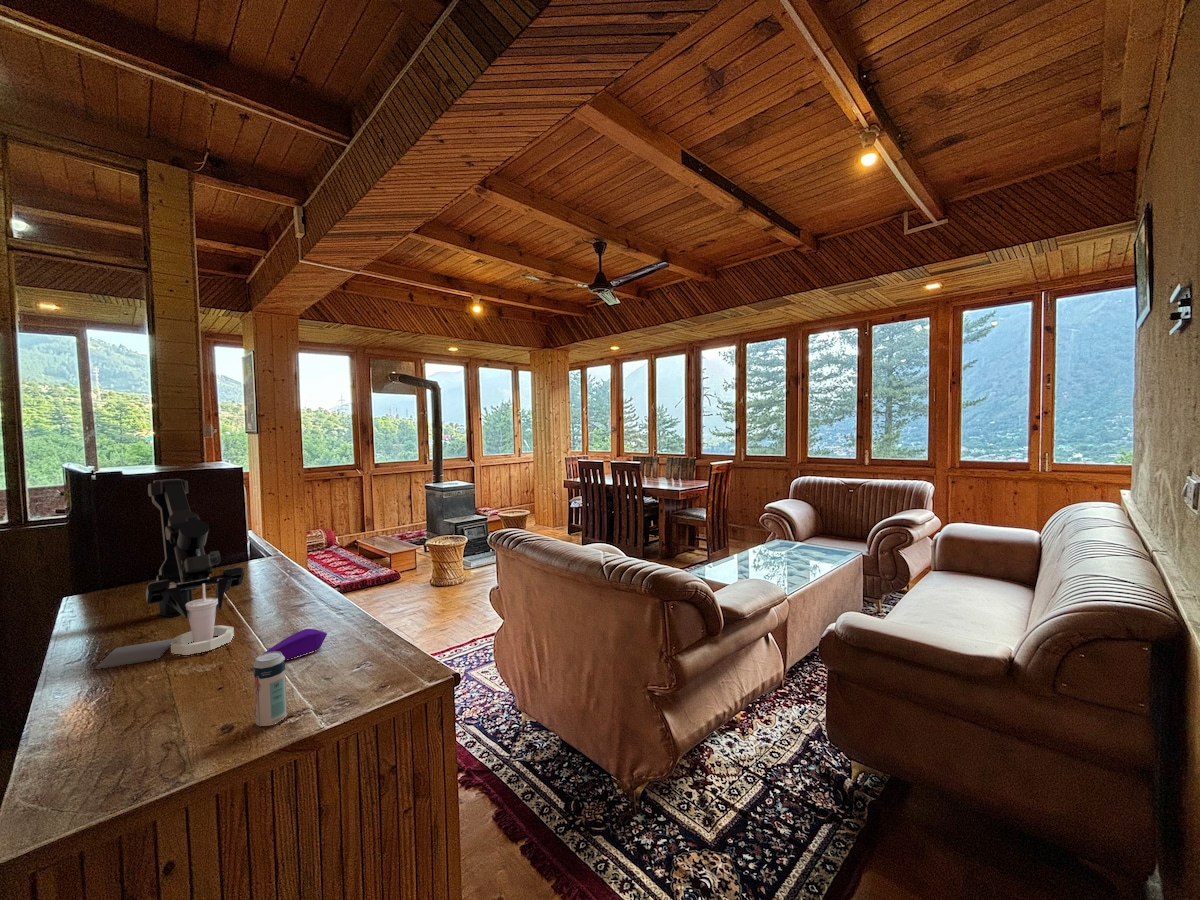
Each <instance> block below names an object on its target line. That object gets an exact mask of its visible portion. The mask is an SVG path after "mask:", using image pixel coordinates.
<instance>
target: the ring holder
mask: <svg viewBox="0 0 1200 900" xmlns="http://www.w3.org/2000/svg"><path fill="white" fill-rule="evenodd" d="M213 636H218V637H213V639H211V640H207V641H201V642H196V643H194V642H193V636H192V631H191V630H190V631H188V632H184V633H182V634H179V635H176V636H175V637H174V638H173V639H174V640H173V641H172V643H171V646H170V654H171V653H174V654H182V655H190V654H194V653H201V652H205V651H209V650H212V649H215V648H217V647H220V646H221V645H224V644H226V643H229V642H231V640H232V638H233V636H234V637H235V628H234V626H230V625H229V626H228V625H221V624H220V625H214V634H213ZM233 639H234V638H233ZM232 641H233V640H232ZM191 642H192V643H191ZM188 643H189V644H188ZM231 643H232V642H231ZM174 654H173V655H174Z"/></svg>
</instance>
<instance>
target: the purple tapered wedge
mask: <svg viewBox="0 0 1200 900" xmlns="http://www.w3.org/2000/svg"><path fill="white" fill-rule="evenodd" d="M327 635H328V633H327V632H326V631H322V630H318V629H314V628H305V629H302V630H300V631H298V632H295V633H294V634H292V635H289V636H288V637H286V638H284V639H282V640H280V642H278V643H276V644H275V645H273V646H272V647H270V648H269V649H267V650H266V651H265V652H263V653H262V654H265V653H268V652H274V651H277V652H281V653H282V655H283V656H284V657H285V660H287V659H291V658H294V657H297V656H300V655H303V654H306V653H309V652H312V651H315V650H317V649H318V650H319V649H320V648H321V646H322V645H323V643H324V641H325V639H326V637H327ZM318 650H317V651H318Z"/></svg>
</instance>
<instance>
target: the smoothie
mask: <svg viewBox="0 0 1200 900" xmlns="http://www.w3.org/2000/svg"><path fill="white" fill-rule="evenodd" d="M201 588H202V590H201V591H202V598H198V599H194V600H193V599H192V601H190V602H188V603H186V604H185V607H186V610H187V615H188V616H187V618H188V620H189V625H190V626H189V627H190V631H192V636H193V641H194V642H193V643H196V642H201V641H207V640H211V639H213V638H214V637H213V634H214V626H215V625H216V624H215V621H216V614H217V604H218V599H217V598H216V597H207V595H206V586H205V583H204V584H202V587H201Z"/></svg>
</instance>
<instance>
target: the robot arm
mask: <svg viewBox="0 0 1200 900" xmlns="http://www.w3.org/2000/svg"><path fill="white" fill-rule="evenodd" d="M147 493H148V494H147V495H148V497H151V502H152V504H153V505H154V507H156V508H157V509H158V510H159V511H160V521H161V522H160V523H161V532H162V540H163V541H162V542H163V543H162V544H163V551H164V561H163V562H162V564H161V566H160V567H159V569H158V575H156V579H155V581H151V582H149V583H148V584H146V590H145V598H146V599H145V601H146V604H148V605H151V604H152V605H153V604H156V603H159V604H158V606H159V609H158V610H159V612H158V613H157V616H163V617H170V618H171V617H172V618H174V617H177V616H180V615H181V616H182V617H183V618H184V619H188V613H187V610H186V607H185V604H186V603H188V602H190V601H193V592H192V590H197V588H202V584H204V583H205V587H207V586H208V587H209V586H212V585H216V588H215V598H217V599H218V604H217V605H216V608H217V609H218V611H221V610H222V605H223V601H224V596H225V592H228V591H229V590H230V589H231V588H233V587H239V586H240V585H242V582H243V579H244V575H245V571H244V568H242V567H241V566H239V565H238V566H234V567H233V566H232V567H227V568H223V571H222V574H220V575H219V574H218V575H213V576H211V574H212V573H213V566H216V565H219V564H220V563H221V561H222V560H221V559H222V558H221V554H220V551H219V550H214V551H210V552H209V553H208V554H206V551H205V549H204V548H205V546H206V543H207V538H208V536H209V535H208V534H209V532H210V526H209V524H208V523H207V522H205V521H203V520H202V519H200V517H199V515H198V514H197V513H194V512H192V510H191V507H190V504H189V501H188V498H187V494H188V493H189V482H188V480H185V479H181V478H172V479H157V480H153V482H151V483H149V484H147Z"/></svg>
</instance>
